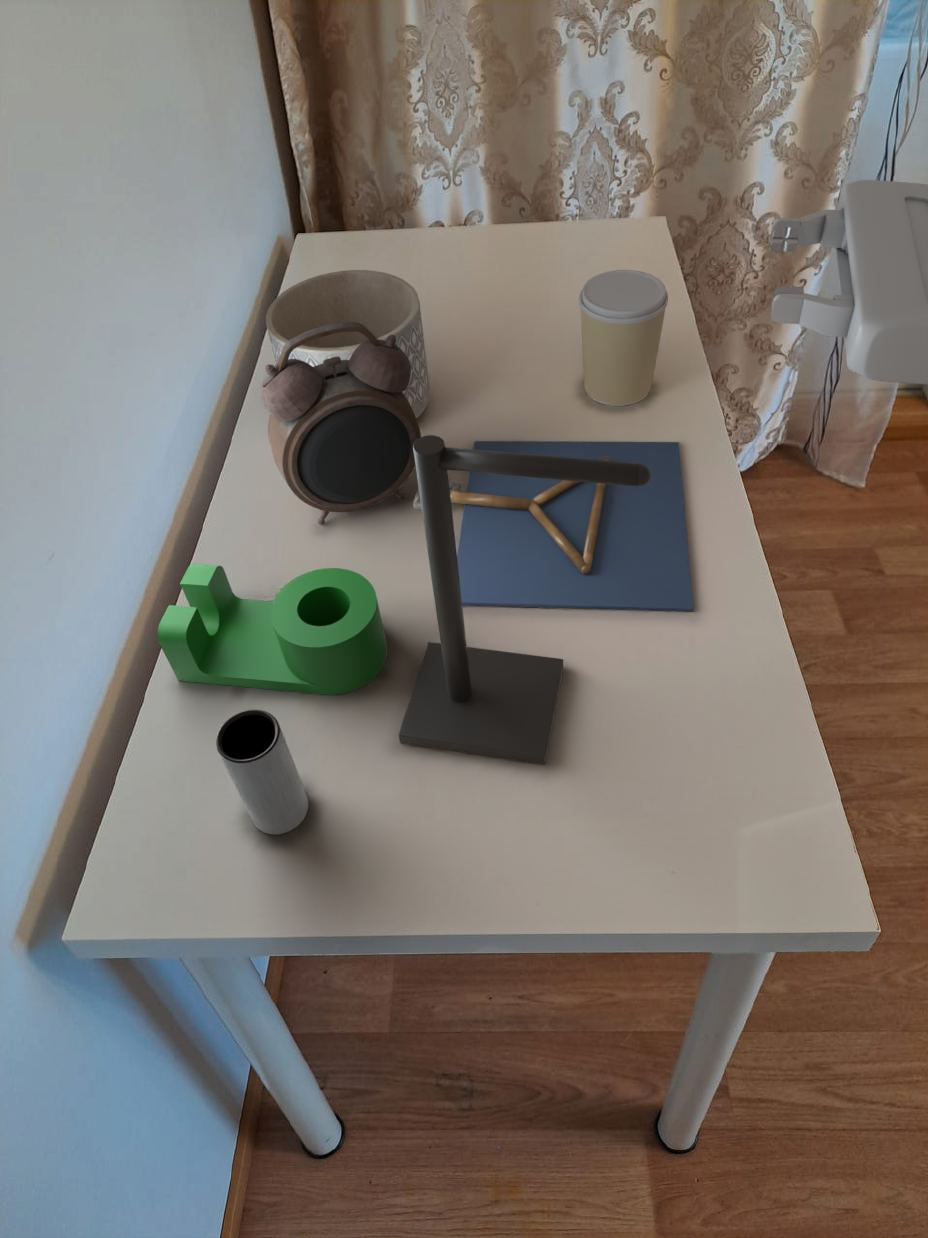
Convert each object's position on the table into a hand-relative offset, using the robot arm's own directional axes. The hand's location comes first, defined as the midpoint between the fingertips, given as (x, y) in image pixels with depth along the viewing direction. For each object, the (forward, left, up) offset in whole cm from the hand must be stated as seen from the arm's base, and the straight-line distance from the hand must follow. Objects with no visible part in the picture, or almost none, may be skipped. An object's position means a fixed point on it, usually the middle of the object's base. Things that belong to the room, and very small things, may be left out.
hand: (771, 267), depth 61 cm
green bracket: (+38, +10, -30) cm, 50 cm away
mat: (+13, -8, -30) cm, 34 cm away
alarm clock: (+35, -10, -30) cm, 47 cm away
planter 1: (+35, +26, -30) cm, 53 cm away
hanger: (+10, -8, -29) cm, 32 cm away
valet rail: (+17, +16, -30) cm, 38 cm away
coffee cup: (+8, -30, -30) cm, 44 cm away
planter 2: (+38, -26, -30) cm, 55 cm away
